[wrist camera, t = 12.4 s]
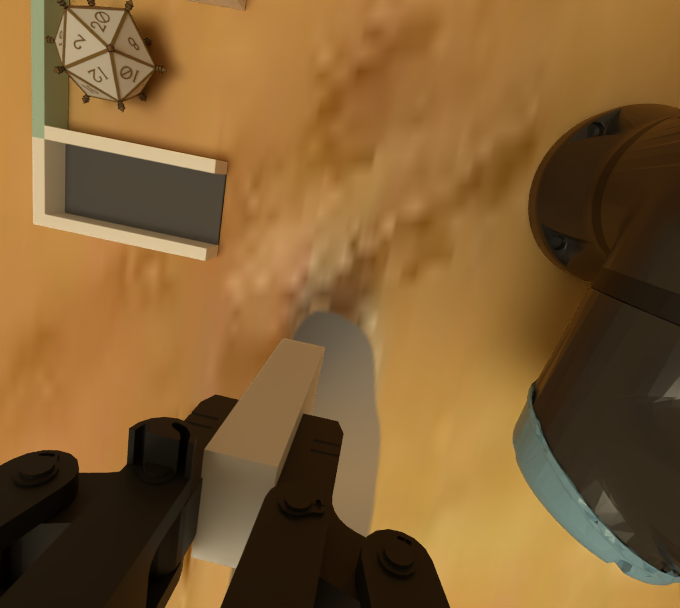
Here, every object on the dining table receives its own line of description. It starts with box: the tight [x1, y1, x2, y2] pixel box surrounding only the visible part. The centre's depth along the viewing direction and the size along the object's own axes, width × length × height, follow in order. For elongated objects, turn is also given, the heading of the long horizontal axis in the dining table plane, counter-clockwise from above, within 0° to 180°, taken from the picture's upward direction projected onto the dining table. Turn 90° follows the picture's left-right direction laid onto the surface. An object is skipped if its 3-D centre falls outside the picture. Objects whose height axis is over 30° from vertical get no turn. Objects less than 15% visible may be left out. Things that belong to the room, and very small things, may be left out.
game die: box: [44, 0, 167, 112], centre depth 36 cm, size 9×8×10 cm
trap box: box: [31, 0, 246, 261], centre depth 38 cm, size 18×32×3 cm, turn 170°
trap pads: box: [65, 144, 226, 245], centre depth 40 cm, size 16×29×1 cm, turn 170°
